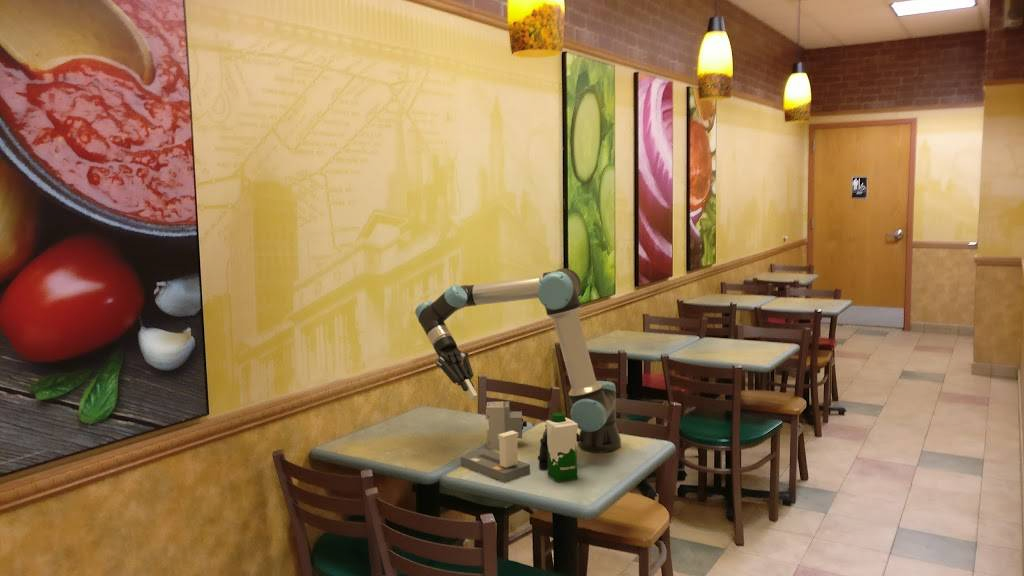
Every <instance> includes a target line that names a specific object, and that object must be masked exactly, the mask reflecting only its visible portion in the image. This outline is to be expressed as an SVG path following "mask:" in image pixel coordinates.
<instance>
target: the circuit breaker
mask: <svg viewBox="0 0 1024 576" xmlns="http://www.w3.org/2000/svg"><path fill="white" fill-rule="evenodd" d="M510 406H511V405H510V401H509V400H508V401H490V402H489V401H487V403H486V409H485V419H486V420H488V429H487V430H486V440H485V441H486V449H488V450H500V448H499V439H498V434H502V433H505V432H508V431H515V432H518V437H517V439H523V430H524V428H526V427H528V421H527V420H524V418H523V412H522V411H519V410H518V411H515V410H514V411H511V409H510V408H511V407H510Z"/></svg>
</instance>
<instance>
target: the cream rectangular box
mask: <svg viewBox="0 0 1024 576" xmlns="http://www.w3.org/2000/svg"><path fill="white" fill-rule="evenodd" d="M517 437H518V432H515V431H508V432H505V433H502V434H498V439H499V448H500V449H499V454H500V466H503V467H505V468H507V467H510V466H513V465H516V464H518V460H519V459H518V455H519V454H518V453H519V451H518V449H519V448H518V438H517Z"/></svg>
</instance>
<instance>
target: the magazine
mask: <svg viewBox="0 0 1024 576" xmlns="http://www.w3.org/2000/svg"><path fill="white" fill-rule="evenodd" d="M544 426H545V430H544V432H543V435H542V438H540V440H539V442H540V447H539V455H537V460H538V468H539V469H540V470H542V471H543V470H548V452H547V428H546V424H545V425H544ZM579 434H580V433H578V432H577V435H576V436H577V443H578V442H579V439H578V438H579Z"/></svg>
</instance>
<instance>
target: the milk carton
mask: <svg viewBox="0 0 1024 576" xmlns="http://www.w3.org/2000/svg"><path fill="white" fill-rule="evenodd" d="M551 418H552V419H548V420H545V425H546V427H545V429H546V428H547V452H548V469H547V476H548V477H550V478H551V479H553V480H554V481H555V482H557V483H562V482H563V483H564V482H568V481H573V479H574V480H577V479H579V478H578V476H579V475H578V456H577V455H578V454H577V448H578V442H577V436H576V435H577V433H578V429H579V428H578V424H577V423H575V422H574V421H572V420H571V418H568V417H566V414H565V412H560V411H559V412H553V413H552V416H551Z"/></svg>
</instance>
